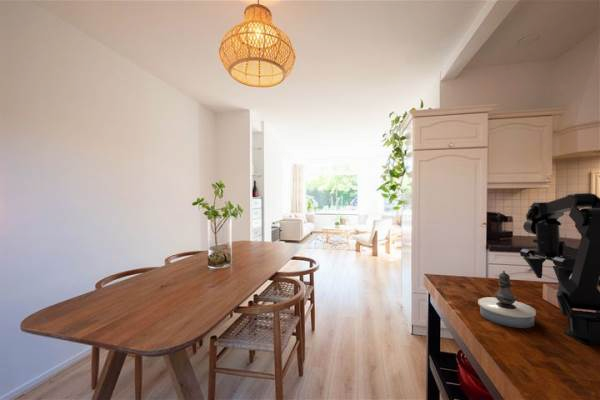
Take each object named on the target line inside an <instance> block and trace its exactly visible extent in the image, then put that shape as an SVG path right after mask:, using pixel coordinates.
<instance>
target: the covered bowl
mask: <svg viewBox="0 0 600 400" xmlns="http://www.w3.org/2000/svg"><path fill="white" fill-rule="evenodd" d="M497 302H499V301H498V300H497V298H496V296H494V297H492V296H491V297H489V296H488V297H482V298H479V299H478V300H477V303H478V306H479V308H480V310H479V312H480V315H481V316H482V317H483V318H485V320H486V319H487V320H488V321H490V322H493V323H496V324H498V325H502V326H506V327H510V328H511V327H512V328H518V329H519V328H520V329H529V328H532V327H534V326H535V316H536V315H537V310H536V309H535V308H534V307H532V306H530V305H528V304H525V303H523V302H520V301H517V300H516V301H515V302H514V303H513V305H514V306H516V309H506V308H502V307H499V306H497V305H496V303H497Z"/></svg>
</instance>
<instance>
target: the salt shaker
mask: <svg viewBox="0 0 600 400" xmlns="http://www.w3.org/2000/svg"><path fill="white" fill-rule="evenodd" d="M498 280H499V282H498V283H497V284H498V285H499V286H498V287H499V288H498V291H495V292H494V295H495V298H497V300H498V301H499V302H497V303H496V305H497V306H499V307H502V308H506V309H516V306H514V305H513V303H514V302H515V301H517V298H518V297H517V296H516V295H515V294H513V293H512V289H511V287H512V284H511V277H510V275H509V274H507V272H506V271H505V270H502V273H500V274H499V275H498Z"/></svg>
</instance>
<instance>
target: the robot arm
mask: <svg viewBox="0 0 600 400" xmlns="http://www.w3.org/2000/svg"><path fill="white" fill-rule="evenodd" d="M565 213H569V214H568V217H569V218H570V219H571V220H572V221H573V222H574V227H575V228H576V230H577V231H578V233H579V234H580V236H581V237H580V241H579V244H578V245H579V246H578V248H574V247H571V246H568V245H567V244H566V243H565V241H564V240H561V239H560V238H561V237H560V235H561V234H560V226H562V222H560V221H559V219H560V218H561V217H563V216H564V215H565ZM525 217H526V221H525V222H524V224H523V226H522V227H523V230H524V231H525V232H526V233H528V234H531V235H534V236H536V239H532V242H533V243H535V244H536V248H522V249H521V250H520V251H519V253H520V254H519V255H520V256H521V257H522V258H523V260H525V261H526V263H527V265H528V266H529V267H530V268H531V270H532V271H533V273H534V274H535V276H536V278H537V279H542V278H543V263H545V262H546V261H547V260H548V261H551V262H552V263H553V265H552V268H553V270H554V274H555V276H556V278H557V281H558V284H559V286H558V287H557V289H558V290H557V292H556V295H555V296H556V300H557V303H558V308H559V310H560V312H561V315H562V316H566V317H567V321H568V330H566V329H565V330H563V333H564V334H566V335H568V336H570V337H571V338H573V339H575V340H577V341H579V342H580V343H582V344H584V345H597V346H600V289H599V288H598V285H599V282H600V197H599V196H598V195H597V194H595V193H590V192H585V193H583V192H581V193H578V192H577V193H569V194H567V195H566V196H562V197H560V198H558V199H554V200H551V201H537V202H536V201H534V202H532V204H531V205H530V206H529V209H528V211H527V213H526V215H525Z"/></svg>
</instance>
